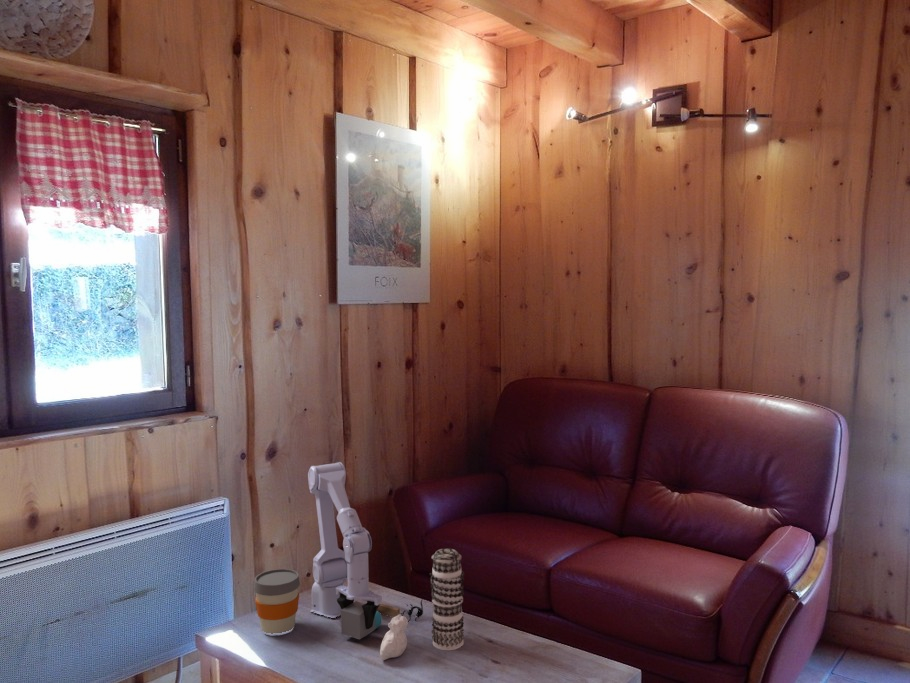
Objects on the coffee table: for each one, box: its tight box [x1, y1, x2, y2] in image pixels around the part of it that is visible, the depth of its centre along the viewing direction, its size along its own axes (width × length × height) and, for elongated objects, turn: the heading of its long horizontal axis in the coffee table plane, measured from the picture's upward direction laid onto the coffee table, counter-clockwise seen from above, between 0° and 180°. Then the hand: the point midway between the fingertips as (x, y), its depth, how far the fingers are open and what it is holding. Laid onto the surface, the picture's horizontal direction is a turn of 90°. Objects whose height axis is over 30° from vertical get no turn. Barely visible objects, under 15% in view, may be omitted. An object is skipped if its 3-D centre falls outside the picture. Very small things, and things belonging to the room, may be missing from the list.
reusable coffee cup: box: [253, 568, 301, 634], centre depth 198 cm, size 13×13×15 cm
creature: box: [400, 598, 424, 623], centre depth 203 cm, size 8×5×8 cm
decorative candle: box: [429, 547, 465, 651], centre depth 188 cm, size 9×9×25 cm
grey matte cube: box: [340, 600, 376, 640], centre depth 193 cm, size 6×6×7 cm
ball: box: [375, 611, 383, 630], centre depth 198 cm, size 5×5×5 cm
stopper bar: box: [377, 603, 401, 618], centre depth 206 cm, size 8×1×2 cm, turn 59°
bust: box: [379, 614, 409, 661], centre depth 183 cm, size 12×8×11 cm
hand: (359, 624), depth 193 cm, fingers closed on grey matte cube, 6 cm apart
